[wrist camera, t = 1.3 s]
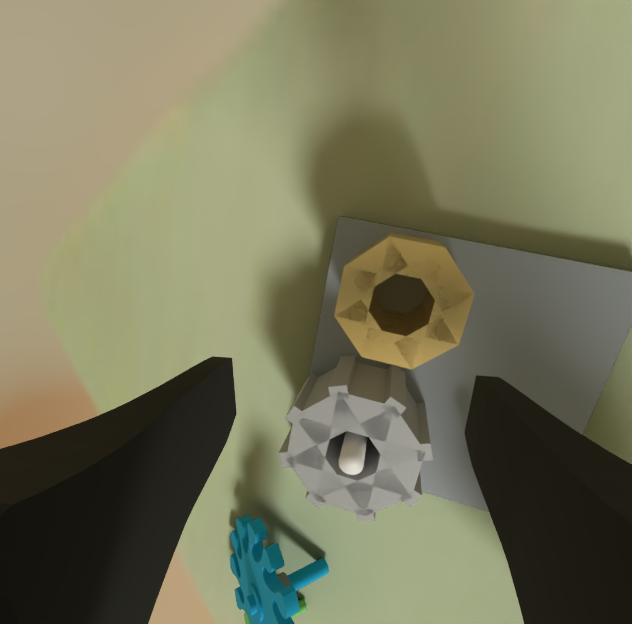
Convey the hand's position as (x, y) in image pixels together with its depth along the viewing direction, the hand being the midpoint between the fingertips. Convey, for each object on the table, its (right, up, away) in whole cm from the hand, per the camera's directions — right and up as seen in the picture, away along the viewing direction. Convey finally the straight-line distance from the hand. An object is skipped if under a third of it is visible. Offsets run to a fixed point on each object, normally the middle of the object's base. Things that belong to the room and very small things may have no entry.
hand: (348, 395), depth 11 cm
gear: (-4, -16, +17) cm, 24 cm away
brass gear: (+4, +4, +9) cm, 10 cm away
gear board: (+6, -1, +11) cm, 12 cm away
